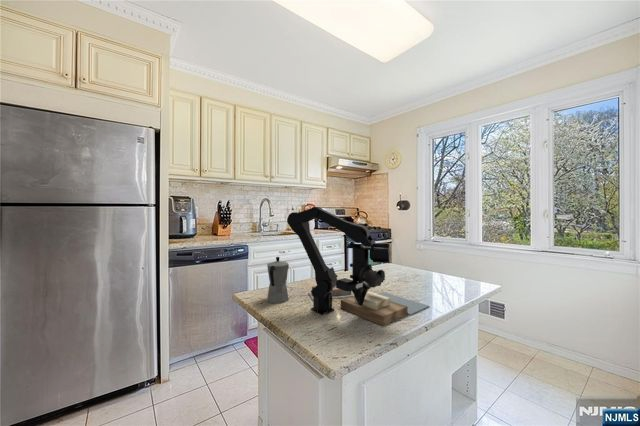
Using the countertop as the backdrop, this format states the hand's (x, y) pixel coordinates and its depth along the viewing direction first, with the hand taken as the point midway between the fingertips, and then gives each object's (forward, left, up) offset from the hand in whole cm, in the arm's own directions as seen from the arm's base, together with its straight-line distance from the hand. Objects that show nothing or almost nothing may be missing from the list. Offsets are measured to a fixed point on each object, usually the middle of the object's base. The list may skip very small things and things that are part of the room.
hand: (360, 305), depth 93 cm
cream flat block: (+6, 0, -1) cm, 6 cm away
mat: (+21, 0, -4) cm, 21 cm away
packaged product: (+6, +24, -5) cm, 25 cm away
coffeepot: (-15, +33, -4) cm, 36 cm away
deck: (+7, 0, -4) cm, 8 cm away
